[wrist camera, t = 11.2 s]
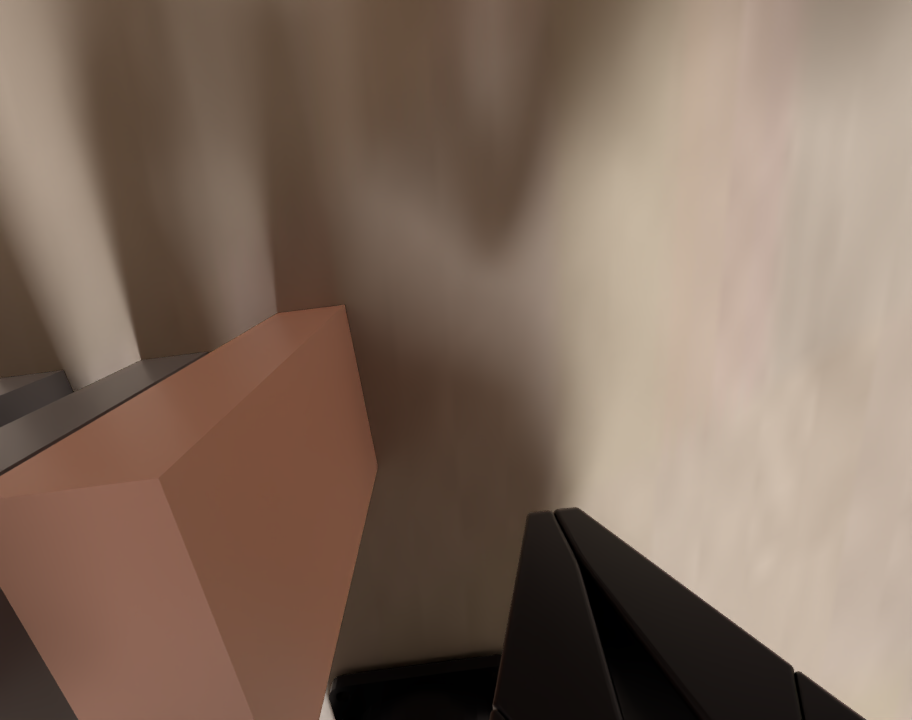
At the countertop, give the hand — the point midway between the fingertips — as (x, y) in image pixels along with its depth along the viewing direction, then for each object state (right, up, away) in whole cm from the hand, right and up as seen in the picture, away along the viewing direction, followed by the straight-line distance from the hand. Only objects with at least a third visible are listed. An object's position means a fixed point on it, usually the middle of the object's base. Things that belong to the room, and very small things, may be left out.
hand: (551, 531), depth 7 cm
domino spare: (-5, +2, +5) cm, 7 cm away
